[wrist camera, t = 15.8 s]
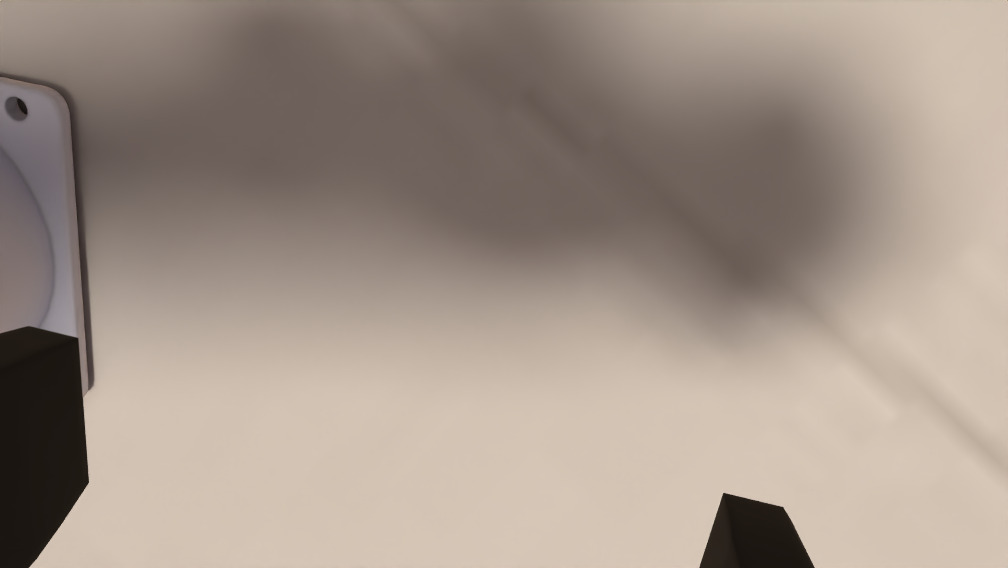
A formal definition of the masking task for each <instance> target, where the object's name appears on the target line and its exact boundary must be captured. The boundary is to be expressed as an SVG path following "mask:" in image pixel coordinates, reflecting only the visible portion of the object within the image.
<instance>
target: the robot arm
mask: <svg viewBox="0 0 1008 568" xmlns="http://www.w3.org/2000/svg"><path fill="white" fill-rule="evenodd" d="M17 98H19V99H21V100H22V101H23V102H24V103H25V105H26V107H27V110H28V114H27V115H26V114H24V113H23V112H22V111H21V110H20V109H19V107H18V104H17ZM87 392H88V372H87V357H86V343H85V328H84V314H83V299H82V284H81V270H80V255H79V241H78V226H77V212H76V197H75V182H74V168H73V153H72V139H71V124H70V113H69V109H68V105H67V103H66V101H65V100H64V98H63V97H62V96H61V95H60V94H59V93H58V92H57V91H56V90H54V89H51V88H49V87H47V86H42V85H37V84H32V83H28V82H23V81H18V80H13V79H9V78H4V77H0V568H29V567H30V566H31V565H32V563H33V562H34V561H35V560H36V559H37V558H38V556H39V555H40V553H41V552H42V551H43V549H44V548H45V546H46V545H47V544H48V542H49V541H50V539H51V538H52V537H53V535H54V534H55V532H56V531H57V530H58V528H59V527H60V526H61V524H62V523H63V521H64V520H65V518H66V517H67V515H68V514H69V512H70V511H71V509H72V507H73V506H74V504H75V503H76V501H77V500H78V498H79V497H80V495H81V494H82V492H83V491H84V489H85V488H86V486H87V485H88V483H89V476H88V463H87V449H86V435H85V421H84V407H83V397H84V396H85V395H86V393H87ZM699 568H815V567H814V565H813V563H812V561H811V559H810V557H809V555H808V553H807V551H806V549H805V547H804V545H803V543H802V541H801V539H800V537H799V535H798V533H797V531H796V529H795V527H794V525H793V523H792V521H791V519H790V518H789V516H788V514H787V513H786V511H785V510H784V508H783V507H780V506H776V505H772V504H768V503H763V502H759V501H755V500H751V499H747V498H743V497H739V496H734V495H730V494H726V493H723V496H722V499H721V502H720V505H719V508H718V511H717V514H716V518H715V521H714V524H713V527H712V530H711V533H710V536H709V539H708V543H707V546H706V549H705V552H704V555H703V558H702V561H701V564H700V567H699Z"/></svg>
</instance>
